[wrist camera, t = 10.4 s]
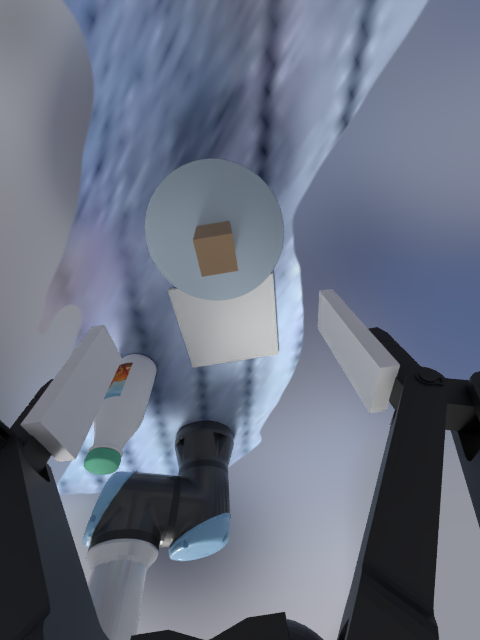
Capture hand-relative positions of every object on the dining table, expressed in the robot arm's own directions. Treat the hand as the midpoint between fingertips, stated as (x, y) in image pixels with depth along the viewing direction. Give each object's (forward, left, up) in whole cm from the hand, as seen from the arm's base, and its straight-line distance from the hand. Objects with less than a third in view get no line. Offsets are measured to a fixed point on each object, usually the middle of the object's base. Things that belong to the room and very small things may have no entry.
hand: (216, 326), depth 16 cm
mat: (-18, +1, -27) cm, 32 cm away
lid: (0, 0, -20) cm, 20 cm away
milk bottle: (-25, +21, -27) cm, 42 cm away
